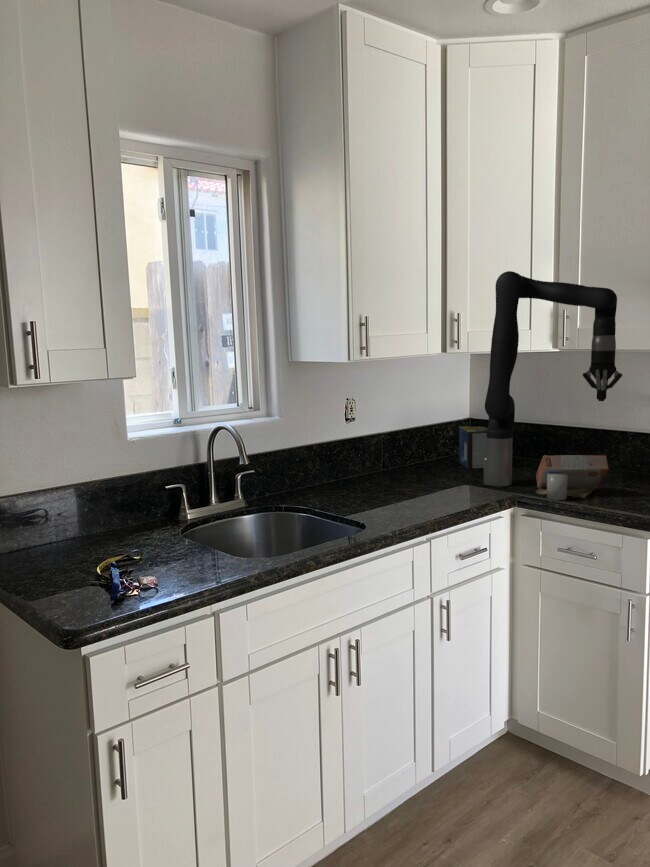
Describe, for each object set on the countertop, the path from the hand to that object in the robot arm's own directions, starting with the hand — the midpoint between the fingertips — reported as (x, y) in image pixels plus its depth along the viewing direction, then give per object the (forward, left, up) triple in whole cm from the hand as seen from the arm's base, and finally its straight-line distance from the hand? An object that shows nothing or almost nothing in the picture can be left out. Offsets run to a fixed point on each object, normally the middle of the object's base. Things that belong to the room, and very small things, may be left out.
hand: (601, 400), depth 243 cm
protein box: (-55, +29, -31) cm, 69 cm away
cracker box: (+2, -2, -24) cm, 24 cm away
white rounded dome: (-10, -17, -31) cm, 37 cm away
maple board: (-10, -4, -31) cm, 33 cm away
